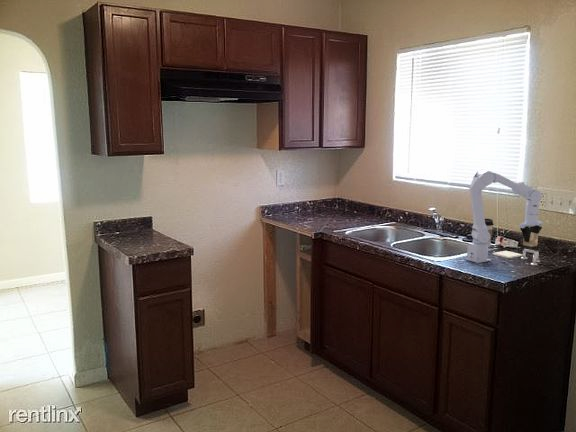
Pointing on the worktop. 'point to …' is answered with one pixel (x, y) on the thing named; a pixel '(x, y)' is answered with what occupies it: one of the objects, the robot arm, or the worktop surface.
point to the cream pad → (507, 254)
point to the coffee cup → (489, 228)
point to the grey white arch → (535, 256)
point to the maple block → (532, 240)
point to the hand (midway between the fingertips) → (530, 241)
